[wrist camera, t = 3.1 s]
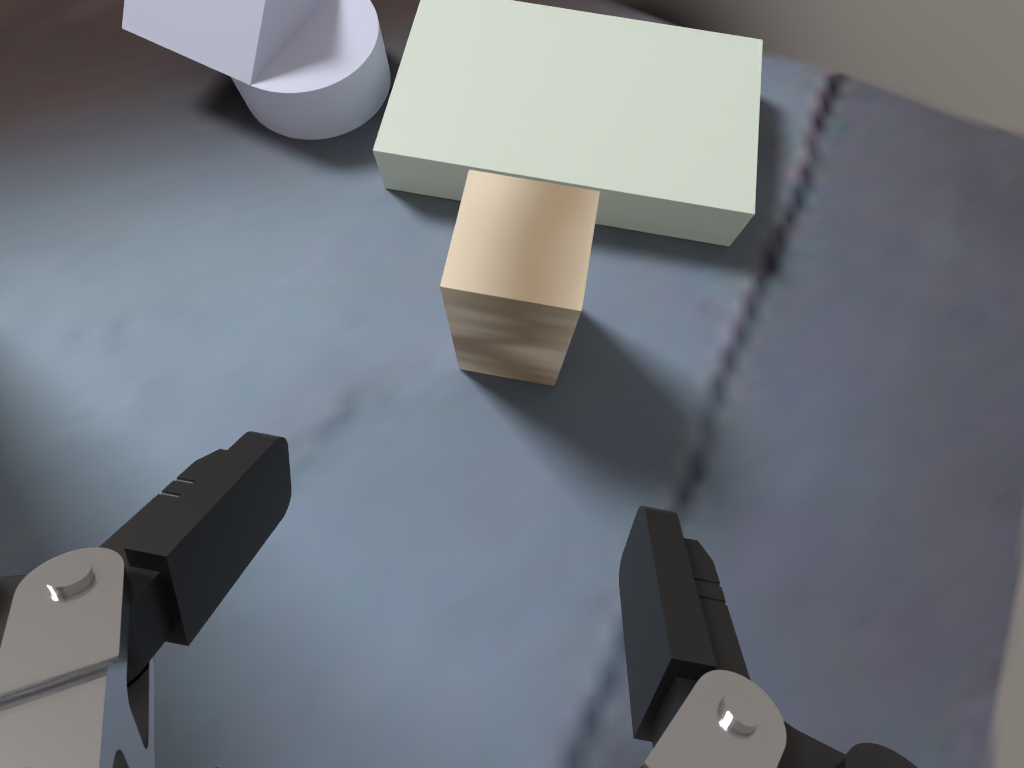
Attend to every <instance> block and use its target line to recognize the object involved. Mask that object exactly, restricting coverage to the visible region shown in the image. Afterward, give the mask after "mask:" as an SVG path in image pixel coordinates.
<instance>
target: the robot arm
mask: <svg viewBox="0 0 1024 768" xmlns="http://www.w3.org/2000/svg"><path fill="white" fill-rule="evenodd" d="M290 499H291V478H290V465H289V452H288V443H287V441H286V439H285V438H283V437H279V436H274V435H268V434H263V433H258V432H252V431H250V432H247V433H245V434H244V435H243V436H242V437H241V438H240V439H239V440H238V441H237V442H236V443H235V444H234V445H232V446H231V447H230V448H229V449H228V450H223V449H219V450H217V451H215V452H213V453H211V454H209V455H207V456H205V457H203V458H201V459H199V460H197V461H195V462H194V463H193V464H191V465H190V466H189V467H188V468H187V469H186V470H185V471H184V472H183V473H181V474H180V475H179V476H178V477H177V480H176V481H172V482H171V483H170V484H169V485H168V486H167V487H166V488H165V489H164V490H162V494H161V495H160V494H158V495H157V496H156V497H155V498H154V499H152V500H151V501H150V502H149V503H148V504H147V505H146V506H145V507H143V508H142V509H141V510H140V511H139V512H138V513H137V514H136V515H135V516H133V517H132V518H131V519H130V520H129V521H128V522H127V523H126V524H124V525H123V526H122V527H121V528H120V529H119V530H118V531H117V532H116V533H114V534H113V535H112V536H111V537H110V538H109V539H108V540H107V541H105V542H104V543H103V544H102V545H101V546H100V547H92V548H83V549H77V550H73V551H70V552H66V553H64V554H61V555H58V556H56V557H54V558H52V559H50V560H48V561H46V562H44V563H43V564H41V565H39V566H38V567H37V568H35V569H34V570H32V571H31V572H30V573H29V574H28V575H21V576H8V577H0V768H155V665H154V659H153V656H154V655H155V654H156V652H157V651H158V650H159V648H160V647H161V646H162V645H163V643H164V642H165V641H166V642H171V643H176V644H181V645H186V646H189V645H190V643H191V642H192V640H193V639H194V638H195V636H196V635H197V634H198V632H199V631H200V630H201V628H202V627H203V626H204V624H205V623H206V621H207V620H208V619H209V617H210V616H211V615H212V613H213V612H214V611H215V609H216V608H217V607H218V605H219V604H220V603H221V601H222V600H223V598H224V597H225V596H226V594H227V593H228V592H229V590H230V589H231V588H232V586H233V585H234V584H235V582H236V581H237V579H238V578H239V577H240V575H241V574H242V573H243V571H244V570H245V569H246V567H247V566H248V565H249V563H250V562H251V560H252V559H253V558H254V556H255V555H256V554H257V552H258V551H259V550H260V548H261V547H262V546H263V544H264V543H265V541H266V540H267V539H268V537H269V536H270V535H271V533H272V532H273V531H274V529H275V528H276V527H277V525H278V524H279V522H280V521H281V520H282V518H283V517H284V515H285V513H286V511H287V509H288V506H289V503H290ZM719 584H720V582H719V578H718V575H717V572H716V569H715V565H714V562H713V560H712V559H711V558H710V556H709V555H708V554H707V552H706V551H705V550H704V548H703V547H702V546H701V544H700V543H699V542H698V541H697V540H692V539H686V538H683V534H682V530H681V526H680V522H679V518H678V515H677V514H676V513H675V512H672V511H667V510H662V509H656V508H651V507H646V506H641V507H640V508H639V509H638V511H637V514H636V517H635V520H634V522H633V525H632V528H631V531H630V534H629V537H628V540H627V543H626V546H625V549H624V551H623V554H622V558H621V563H620V571H619V588H620V598H621V609H622V620H623V630H624V641H625V652H626V662H627V673H628V684H629V694H630V705H631V716H632V726H633V737H634V738H635V739H640V740H645V741H650V742H652V743H653V750H652V751H651V753H650V754H649V756H648V758H647V759H646V761H645V762H644V763H643V765H642V766H641V768H917V767H916V766H915V765H914V764H912V763H911V762H910V761H908V760H907V759H906V758H904V757H903V756H901V755H900V754H898V753H896V752H895V751H893V750H891V749H888V748H886V747H884V746H881V745H878V744H873V743H861V744H857V745H855V746H854V747H852V748H851V749H850V750H849V751H848V753H847V754H846V755H845V754H843V753H841V752H839V751H837V750H835V749H833V748H831V747H829V746H827V745H825V744H823V743H821V742H819V741H818V740H816V739H814V738H812V737H810V736H808V735H806V734H804V733H802V732H800V731H798V730H797V729H795V728H793V727H791V726H790V725H789V724H787V723H786V722H784V721H783V719H782V717H781V714H780V712H779V711H778V709H777V707H776V706H775V704H774V703H773V701H772V700H771V699H770V698H769V696H768V695H767V694H766V693H765V692H764V691H763V690H762V689H761V688H760V687H758V686H757V685H756V684H755V683H753V682H752V681H751V680H750V677H749V674H748V671H747V668H746V665H745V662H744V658H743V655H742V652H741V649H740V646H739V642H738V639H737V636H736V633H735V630H734V626H733V623H732V620H731V617H730V614H729V610H728V607H727V605H725V598H724V594H723V591H722V588H721V587H720V586H719ZM216 768H217V767H216Z"/></svg>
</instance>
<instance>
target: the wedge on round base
mask: <svg viewBox="0 0 1024 768" xmlns="http://www.w3.org/2000/svg"><path fill="white" fill-rule="evenodd" d="M122 28H123V29H125V30H127V31H130V32H132V33H134V34H136V35H139V36H141V37H143V38H145V39H147V40H150V41H152V42H154V43H156V44H159V45H161V46H163V47H165V48H168V49H170V50H172V51H174V52H177V53H179V54H181V55H183V56H186V57H188V58H190V59H192V60H195V61H197V62H199V63H201V64H204V65H206V66H208V67H210V68H213V69H215V70H217V71H219V72H222V73H224V74H226V75H228V76H230V77H231V78H232V80H233V82H234V84H235V85H236V87H237V89H238V90H239V92H240V94H241V96H242V97H243V99H244V101H245V103H246V104H247V106H248V108H249V109H250V111H251V112H252V114H253V115H254V117H255V118H256V119H257V120H258V121H259V122H260V123H262V124H263V125H264V126H266V127H267V128H268V129H270V130H272V131H274V132H276V133H278V134H281V135H284V136H287V137H291V138H296V139H304V140H318V139H327V138H332V137H336V136H339V135H342V134H345V133H348V132H350V131H352V130H354V129H356V128H358V127H359V126H361V125H363V124H364V123H366V122H367V121H368V120H369V119H371V118H372V117H373V116H374V115H375V114H376V113H377V112H378V110H379V109H380V108H381V106H382V105H383V103H384V101H385V99H386V97H387V95H388V92H389V88H390V82H391V76H390V69H389V64H388V60H387V56H386V51H385V47H384V43H383V39H382V34H381V30H380V26H379V21H378V17H377V14H376V11H375V8H374V6H373V5H372V3H371V1H370V0H125V2H124V13H123V23H122Z"/></svg>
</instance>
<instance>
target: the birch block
mask: <svg viewBox="0 0 1024 768" xmlns="http://www.w3.org/2000/svg"><path fill="white" fill-rule="evenodd" d="M599 194H600V191H594V190H588V189H582V188H576V187H571V186H565V185H559V184H553V183H547V182H541V181H535V180H529V179H523V178H517V177H511V176H505V175H499V174H493V173H487V172H481V171H475V170H469V172H468V176H467V180H466V184H465V188H464V192H463V196H462V200H461V204H460V208H459V212H458V216H457V220H456V224H455V228H454V232H453V236H452V240H451V244H450V248H449V252H448V256H447V260H446V264H445V268H444V272H443V276H442V280H441V285H440V288H441V293H442V297H443V301H444V306H445V310H446V314H447V318H448V323H449V327H450V331H451V335H452V340H453V344H454V348H455V352H456V357H457V361H458V365H459V369H461V370H467V371H473V372H478V373H484V374H489V375H495V376H500V377H506V378H512V379H517V380H523V381H528V382H534V383H540V384H545V385H551V386H555V384H556V381H557V378H558V375H559V372H560V370H561V367H562V364H563V361H564V358H565V356H566V353H567V350H568V347H569V345H570V342H571V339H572V336H573V333H574V331H575V328H576V325H577V322H578V320H579V317H580V314H581V311H582V305H583V298H584V292H585V285H586V279H587V272H588V266H589V259H590V253H591V246H592V239H593V233H594V226H595V220H596V213H597V207H598V200H599Z"/></svg>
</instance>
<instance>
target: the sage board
mask: <svg viewBox="0 0 1024 768" xmlns="http://www.w3.org/2000/svg"><path fill="white" fill-rule="evenodd" d="M761 64H762V40H760V39H754V38H747V37H741V36H735V35H728V34H722V33H716V32H709V31H703V30H697V29H690V28H684V27H678V26H671V25H665V24H658V23H652V22H646V21H639V20H633V19H627V18H620V17H614V16H608V15H601V14H595V13H589V12H582V11H576V10H569V9H563V8H557V7H550V6H544V5H538V4H531V3H525V2H519V1H512V0H421V1H420V4H419V7H418V10H417V13H416V16H415V20H414V23H413V26H412V29H411V32H410V35H409V38H408V41H407V45H406V48H405V51H404V54H403V57H402V60H401V63H400V67H399V70H398V73H397V76H396V79H395V82H394V85H393V88H392V92H391V95H390V98H389V101H388V104H387V107H386V110H385V113H384V117H383V120H382V123H381V126H380V129H379V132H378V135H377V138H376V142H375V145H374V148H373V153H374V156H375V159H376V162H377V165H378V168H379V171H380V174H381V177H382V180H383V183H384V186H385V188H387V189H393V190H399V191H404V192H410V193H416V194H422V195H428V196H434V197H440V198H446V199H452V200H458V201H461V200H462V196H463V192H464V188H465V184H466V180H467V176H468V172H469V170H475V171H481V172H487V173H493V174H499V175H505V176H511V177H517V178H523V179H529V180H535V181H541V182H547V183H553V184H559V185H565V186H571V187H576V188H582V189H588V190H594V191H600V194H599V200H598V207H597V213H596V220H595V224H599V225H605V226H611V227H617V228H623V229H629V230H635V231H641V232H647V233H652V234H658V235H664V236H670V237H676V238H682V239H688V240H694V241H700V242H706V243H711V244H717V245H723V246H730V245H731V244H732V243H733V241H734V240H735V239H736V237H737V236H738V235H739V234H740V232H741V231H742V230H743V229H744V227H745V226H746V225H747V223H748V222H749V221H750V220H751V218H752V217H753V216H754V215H755V199H756V176H757V154H758V132H759V109H760V87H761Z"/></svg>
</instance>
